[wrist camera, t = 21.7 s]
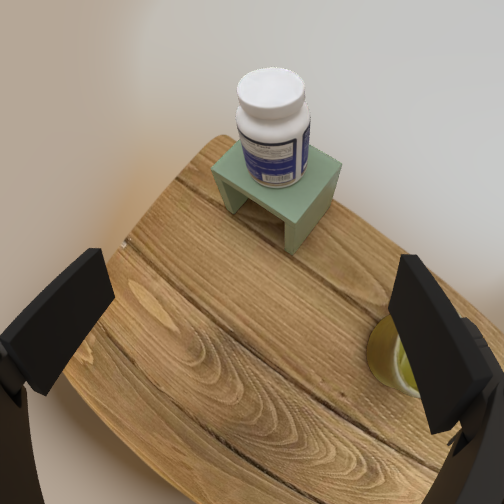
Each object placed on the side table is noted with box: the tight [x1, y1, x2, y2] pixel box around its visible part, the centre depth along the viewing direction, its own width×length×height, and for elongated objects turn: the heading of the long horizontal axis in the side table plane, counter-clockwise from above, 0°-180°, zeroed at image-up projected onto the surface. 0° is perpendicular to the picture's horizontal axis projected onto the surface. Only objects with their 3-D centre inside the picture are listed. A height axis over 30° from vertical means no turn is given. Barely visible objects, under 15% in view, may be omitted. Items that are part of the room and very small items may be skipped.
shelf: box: [211, 140, 342, 255], centre depth 31 cm, size 10×8×9 cm
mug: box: [367, 310, 462, 398], centre depth 25 cm, size 12×10×10 cm
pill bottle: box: [236, 67, 311, 188], centre depth 22 cm, size 6×6×10 cm
